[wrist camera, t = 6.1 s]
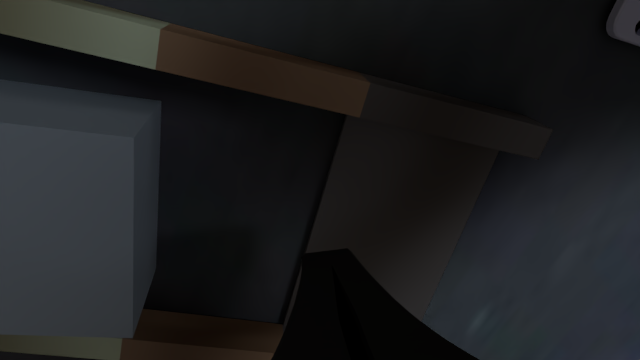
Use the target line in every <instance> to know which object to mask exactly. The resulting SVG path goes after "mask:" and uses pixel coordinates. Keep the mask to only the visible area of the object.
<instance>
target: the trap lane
mask: <svg viewBox="0 0 640 360" xmlns="http://www.w3.org/2000/svg"><path fill="white" fill-rule="evenodd" d="M0 33H1V34H5V35H10V36H14V37H18V38H22V39H27V40H31V41H35V42H39V43H44V44H48V45H52V46H57V47H61V48H65V49H69V50H74V51H78V52H82V53H86V54H91V55H95V56H99V57H103V58H108V59H112V60H116V61H120V62H125V63H129V64H133V65H138V66H142V67H146V68H150V69H155V70H159V71H163V72H167V73H172V74H176V75H180V76H184V77H189V78H193V79H197V80H201V81H206V82H210V83H214V84H218V85H223V86H227V87H231V88H236V89H240V90H244V91H248V92H253V93H257V94H261V95H265V96H270V97H274V98H278V99H282V100H287V101H291V102H295V103H299V104H304V105H308V106H312V107H317V108H321V109H325V110H329V111H334V112H338V113H342V114H346V115H345V119H344V122H343V125H342V129H341V132H340V135H339V139H338V142H337V145H336V149H335V152H334V155H333V158H332V162H331V165H330V168H329V172H328V175H327V178H326V182H325V185H324V188H323V192H322V195H321V198H320V201H319V205H318V208H317V211H316V215H315V218H314V221H313V225H312V228H311V231H310V235H309V238H308V241H307V244H306V248H305V251H304V254H305V253H313V252H321V251H329V250H337V249H345V248H348V249H349V250H350V251H352V253H353V254H354V255H355V257H356V258H357V259H358V260H359V262H360V263H361V264H362V265H363V266H364V268H365V269H366V270H367V271H368V272H369V273H370V274H371V275H372V277H373V278H374V279H375V280H376V281H377V282H378V283H379V284H380V285H381V286H382V287H383V288H384V289H385V290H386V291H387V292H388V293H389V294H390V295H391V296H392V297H393V298H394V299H395V300H396V301H397V302H399V303H400V304H401V305H402V306H403V307H404V308H405V309H406V310H408V311H409V312H410V313H411V314H412V315H414V316H415V317H416V318H417V319H418V320H420V321H422V319H423V316H424V314H425V312H426V310H427V308H428V305H429V303H430V301H431V299H432V297H433V295H434V292H435V290H436V288H437V286H438V284H439V281H440V279H441V277H442V275H443V273H444V271H445V268H446V266H447V264H448V262H449V260H450V257H451V255H452V253H453V251H454V249H455V247H456V244H457V242H458V240H459V238H460V236H461V233H462V231H463V229H464V227H465V225H466V222H467V220H468V218H469V216H470V214H471V212H472V209H473V207H474V205H475V203H476V201H477V198H478V196H479V194H480V192H481V190H482V188H483V185H484V183H485V181H486V179H487V177H488V174H489V172H490V170H491V168H492V166H493V164H494V161H495V159H496V157H497V155H498V153H499V150H500V151H504V152H508V153H513V154H517V155H521V156H525V157H530V158H534V159H539V157H540V155H541V153H542V151H543V149H544V147H545V145H546V143H547V141H548V139H549V137H550V135H551V133H552V131H553V129H551V128H549V127H547V126H545V125H543V124H541V123H539V122H537V121H535V120H533V119H531V118H529V117H527V116H525V115H521V114H517V113H513V112H509V111H505V110H501V109H498V108H494V107H490V106H486V105H482V104H478V103H475V102H471V101H467V100H463V99H459V98H455V97H452V96H448V95H444V94H440V93H436V92H432V91H429V90H425V89H421V88H417V87H413V86H409V85H406V84H402V83H398V82H394V81H390V80H386V79H382V78H379V77H375V76H371V75H367V74H363V73H359V72H356V71H352V70H348V69H344V68H340V67H336V66H333V65H329V64H325V63H321V62H317V61H313V60H310V59H306V58H302V57H298V56H294V55H290V54H287V53H283V52H279V51H275V50H271V49H267V48H264V47H260V46H256V45H252V44H248V43H244V42H240V41H237V40H233V39H229V38H225V37H221V36H217V35H214V34H210V33H206V32H202V31H198V30H194V29H191V28H187V27H183V26H179V25H175V24H171V23H168V22H164V21H160V20H156V19H152V18H148V17H145V16H141V15H137V14H133V13H129V12H125V11H122V10H118V9H114V8H110V7H106V6H102V5H98V4H95V3H91V2H87V1H83V0H0ZM304 254H303V255H304ZM301 272H302V261H301V264H300V268H299V271H298V274H297V278H296V281H295V284H294V287H293V291H292V294H291V297H290V301H289V304H288V307H287V311H286V314H285V317H284V321H283V324H276V323H267V322H258V321H249V320H240V319H231V318H222V317H213V316H204V315H195V314H186V313H177V312H168V311H159V310H150V309H142V312H141V315H140V318H139V321H138V324H137V327H136V330H135V333H134V336H133V338H106V337H71V336H36V335H1V334H0V351H5V352H17V353H29V354H41V355H53V356H65V357H77V358H89V359H101V360H271V359H272V357H273V355H274V353H275V351H276V349H277V347H278V344H279V342H280V340H281V338H282V336H283V333H284V331H285V328H286V326H287V323H288V320H289V317H290V314H291V312H292V309H293V306H294V303H295V299H296V295H297V291H298V288H299V283H300V278H301Z"/></svg>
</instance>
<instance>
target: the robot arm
mask: <svg viewBox="0 0 640 360" xmlns="http://www.w3.org/2000/svg"><path fill="white" fill-rule="evenodd" d="M639 20H640V0H617V1H616V3H615V5H614V7H613V9H612V11H611V13H610V15H609V17H608V20H607V23H606V31H607V33H608V35H609V36H611V37H612V38H615V39H618V40H621V41H624V42H627V43H630V44H633V45H636V46H639V47H640V28H639V29H638V31H637V32H636V33H635V27H636V24H637V23H638V22H639ZM271 360H479V359H477V358H475V357H474V356H472V355H470V354H468V353H467V352H465V351H464V350H462V349H460V348H459V347H457V346H455V345H454V344H452V343H451V342H449V341H447V340H446V339H444V338H443V337H441V336H440V335H438V334H437V333H436V332H434V331H433V330H431V329H430V328H429V327H427V326H426V325H425V324H423V323H422V322H421V321H420V320H418V319H417V318H416V317H415V316H414V315H412V314H411V313H410V312H409V311H408V310H406V309H405V308H404V307H403V306H402V305H401V304H400V303H399V302H397V301H396V300H395V299H394V298H393V297H392V296H391V295H390V294H389V293H388V292H387V291H386V290H385V289H384V288H383V287H382V286H381V285H380V284H379V283H378V282H377V281H376V280H375V279H374V278H373V277H372V275H371V274H370V273H369V272H368V271H367V270H366V269H365V268H364V266H363V265H362V264H361V263H360V262H359V260H358V259H357V258H356V257H355V255H354V254H353V253H352V251H350V250H349V249H348V248H345V249H337V250H329V251H321V252H313V253H305V254H304V255H303V256H302V272H301V278H300V283H299V288H298V291H297V295H296V299H295V303H294V306H293V309H292V312H291V314H290V317H289V320H288V323H287V326H286V328H285V331H284V333H283V336H282V338H281V340H280V342H279V344H278V347H277V349H276V351H275V353H274V355H273V357H272V359H271Z"/></svg>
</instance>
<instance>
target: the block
mask: <svg viewBox="0 0 640 360" xmlns="http://www.w3.org/2000/svg"><path fill="white" fill-rule="evenodd" d="M160 131H161V101H159V100H151V99H144V98H136V97H129V96H121V95H114V94H106V93H99V92H91V91H84V90H76V89H69V88H61V87H54V86H46V85H39V84H31V83H24V82H16V81H9V80H1V79H0V334H1V335H36V336H71V337H106V338H133V336H134V333H135V330H136V327H137V324H138V321H139V318H140V315H141V312H142V309H143V306H144V303H145V300H146V297H147V294H148V291H149V288H150V285H151V282H152V279H153V276H154V273H155V270H156V257H157V225H158V194H159V162H160Z"/></svg>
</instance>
